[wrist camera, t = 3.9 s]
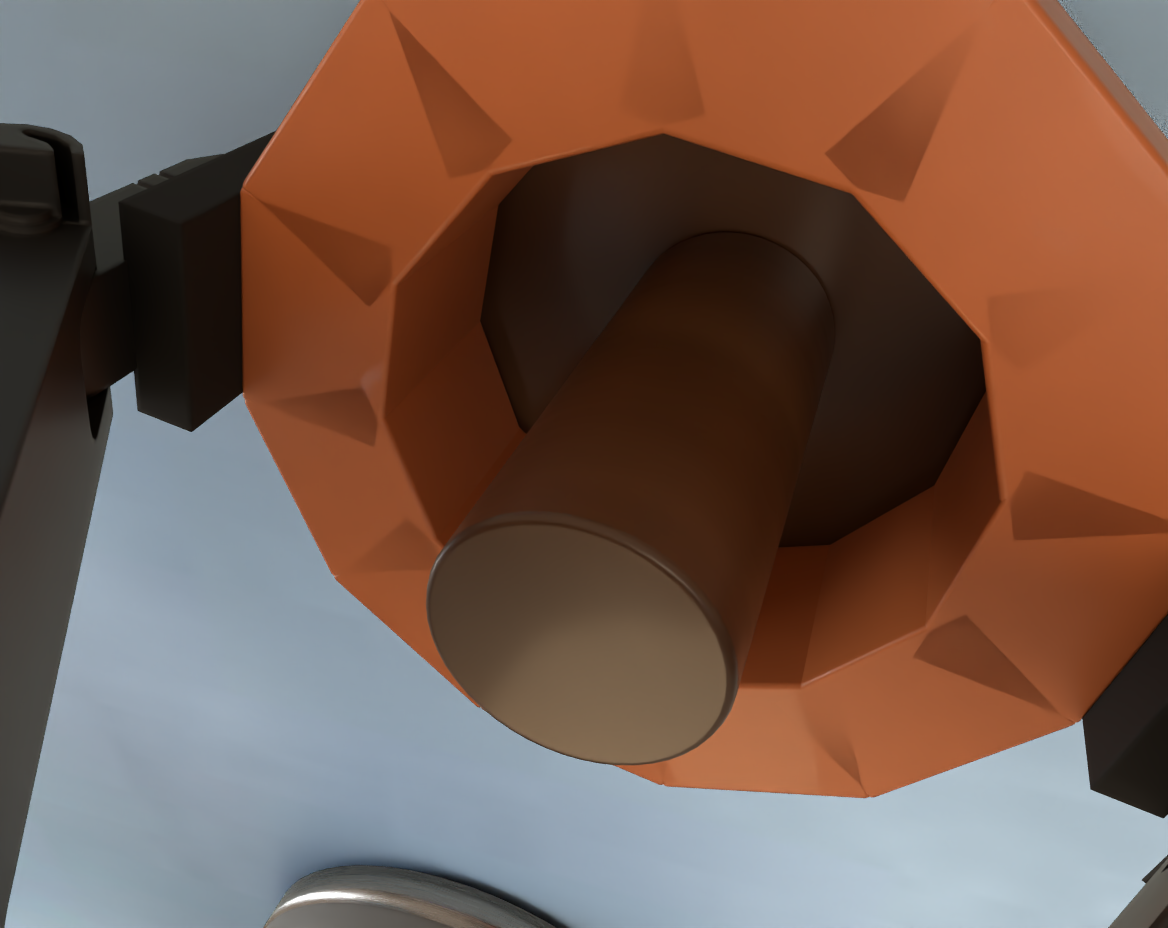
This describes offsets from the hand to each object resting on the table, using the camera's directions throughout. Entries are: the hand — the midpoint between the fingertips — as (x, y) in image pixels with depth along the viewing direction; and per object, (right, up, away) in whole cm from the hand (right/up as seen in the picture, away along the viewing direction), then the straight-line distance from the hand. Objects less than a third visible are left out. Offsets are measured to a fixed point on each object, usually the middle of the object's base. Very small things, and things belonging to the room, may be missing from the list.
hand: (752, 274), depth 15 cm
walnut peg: (0, 0, 0) cm, 1 cm away
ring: (-1, -1, -2) cm, 3 cm away
